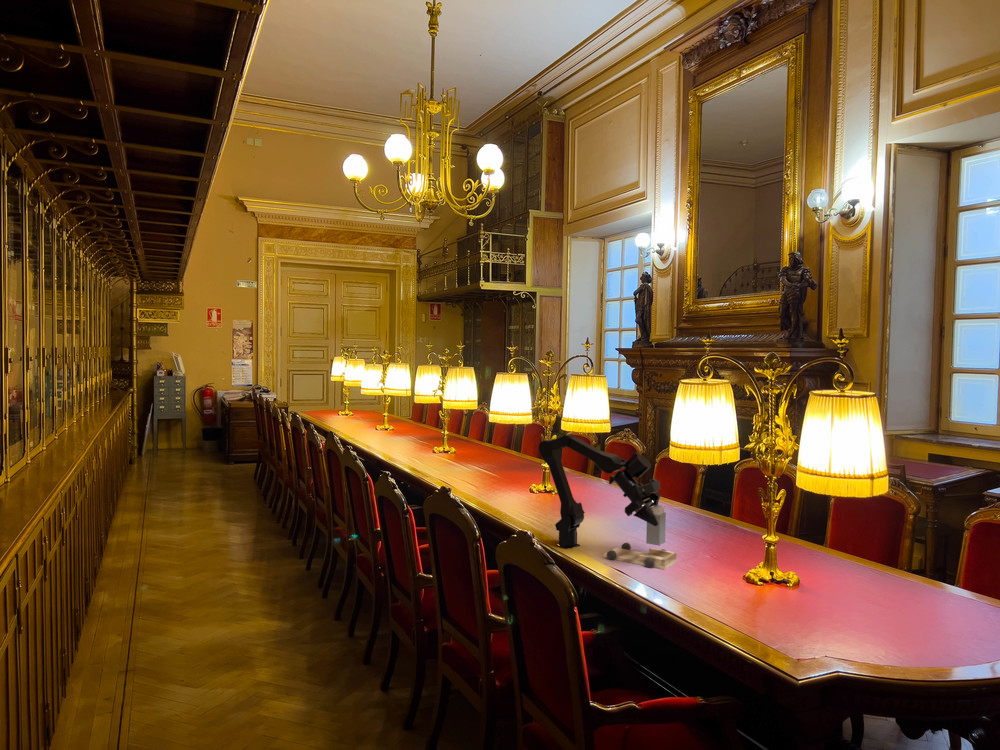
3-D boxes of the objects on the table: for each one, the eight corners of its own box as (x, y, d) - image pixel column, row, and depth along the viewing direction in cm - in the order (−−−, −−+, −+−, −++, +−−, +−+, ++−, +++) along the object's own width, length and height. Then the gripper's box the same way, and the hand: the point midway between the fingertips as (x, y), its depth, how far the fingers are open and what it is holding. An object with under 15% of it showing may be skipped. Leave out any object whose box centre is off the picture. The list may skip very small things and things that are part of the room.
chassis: (601, 558, 230) (601, 549, 230) (617, 549, 240) (617, 540, 240) (663, 570, 217) (663, 561, 217) (677, 560, 227) (677, 551, 227)
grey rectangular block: (646, 543, 224) (647, 507, 224) (652, 539, 229) (653, 504, 228) (659, 545, 222) (660, 509, 221) (665, 542, 226) (665, 506, 225)
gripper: (634, 475, 219) (666, 514, 213) (656, 467, 234) (687, 504, 228) (611, 496, 224) (642, 535, 218) (635, 487, 239) (664, 523, 233)
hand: (659, 523), depth 224 cm, fingers closed on grey rectangular block, 5 cm apart
